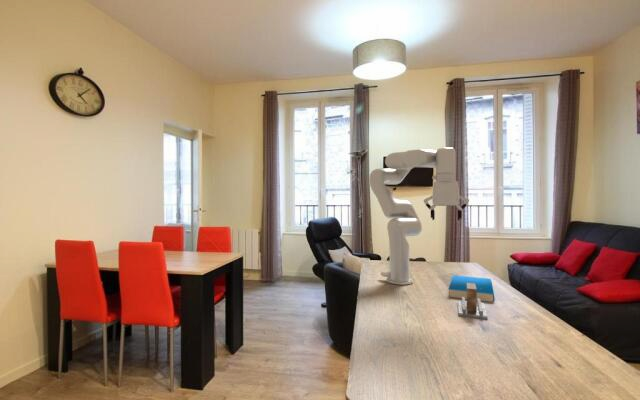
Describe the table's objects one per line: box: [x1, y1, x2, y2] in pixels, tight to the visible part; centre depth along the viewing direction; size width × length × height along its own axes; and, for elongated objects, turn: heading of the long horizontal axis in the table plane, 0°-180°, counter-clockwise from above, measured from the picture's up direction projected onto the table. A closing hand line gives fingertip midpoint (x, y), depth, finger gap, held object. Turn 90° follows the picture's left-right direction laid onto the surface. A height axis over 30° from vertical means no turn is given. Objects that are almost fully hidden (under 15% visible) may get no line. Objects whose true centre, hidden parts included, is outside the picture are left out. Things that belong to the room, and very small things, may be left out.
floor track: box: [457, 297, 488, 320], centre depth 117 cm, size 15×9×2 cm, turn 157°
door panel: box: [466, 283, 477, 312], centre depth 117 cm, size 3×8×8 cm, turn 157°
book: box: [448, 275, 495, 303], centre depth 141 cm, size 17×4×25 cm
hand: (445, 220), depth 130 cm, fingers open, 9 cm apart
